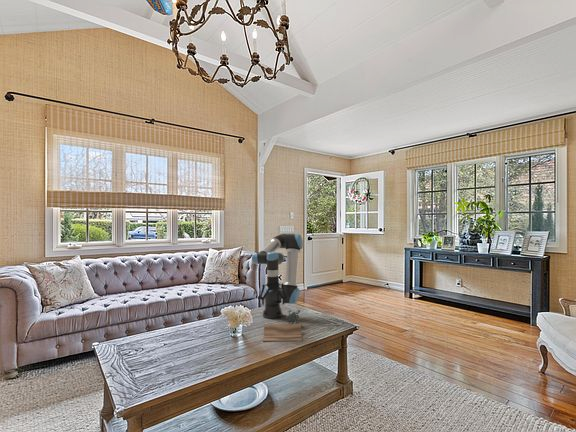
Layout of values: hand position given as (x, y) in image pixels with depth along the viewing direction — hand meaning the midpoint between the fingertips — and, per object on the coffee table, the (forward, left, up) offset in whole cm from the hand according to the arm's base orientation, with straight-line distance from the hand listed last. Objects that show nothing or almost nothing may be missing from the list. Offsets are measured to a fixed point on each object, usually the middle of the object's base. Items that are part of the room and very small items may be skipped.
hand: (273, 309), depth 204 cm
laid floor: (+11, +6, -16) cm, 20 cm away
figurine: (-12, +14, -16) cm, 25 cm away
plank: (+2, +6, -13) cm, 15 cm away
